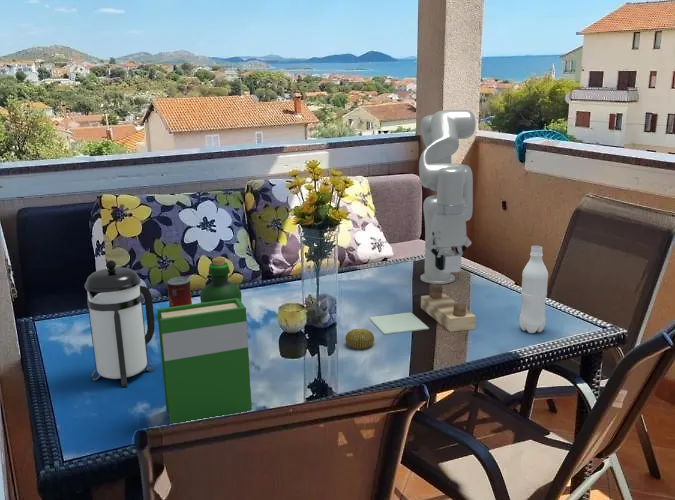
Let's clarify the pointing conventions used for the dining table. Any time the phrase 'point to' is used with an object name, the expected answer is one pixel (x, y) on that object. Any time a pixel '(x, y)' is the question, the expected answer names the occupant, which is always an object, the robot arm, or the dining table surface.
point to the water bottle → (534, 292)
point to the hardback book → (205, 359)
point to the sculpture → (359, 338)
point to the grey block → (451, 261)
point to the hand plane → (447, 310)
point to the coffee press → (119, 322)
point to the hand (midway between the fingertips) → (447, 267)
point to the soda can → (179, 291)
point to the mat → (398, 323)
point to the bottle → (219, 283)
